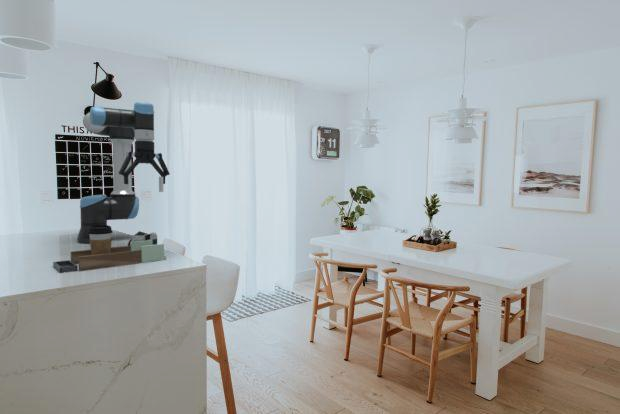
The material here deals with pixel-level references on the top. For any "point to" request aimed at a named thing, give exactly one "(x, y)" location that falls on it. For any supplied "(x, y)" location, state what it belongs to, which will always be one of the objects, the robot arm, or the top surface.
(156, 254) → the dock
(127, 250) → the channel
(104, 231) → the coffee cup
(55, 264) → the tray
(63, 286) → the top surface
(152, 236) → the camera
